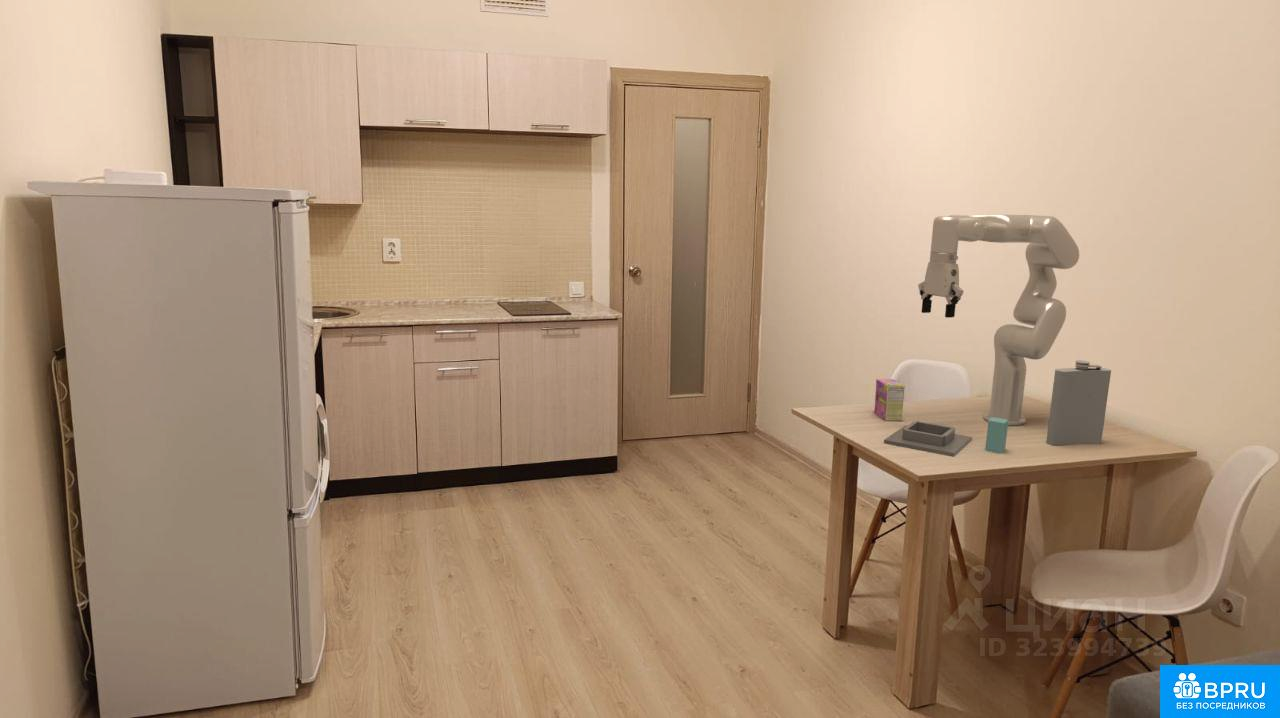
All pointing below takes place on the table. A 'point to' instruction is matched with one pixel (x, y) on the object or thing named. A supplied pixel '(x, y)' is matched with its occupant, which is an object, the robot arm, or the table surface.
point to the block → (996, 435)
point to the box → (889, 399)
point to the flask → (1078, 405)
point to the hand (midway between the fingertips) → (937, 314)
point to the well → (929, 438)
